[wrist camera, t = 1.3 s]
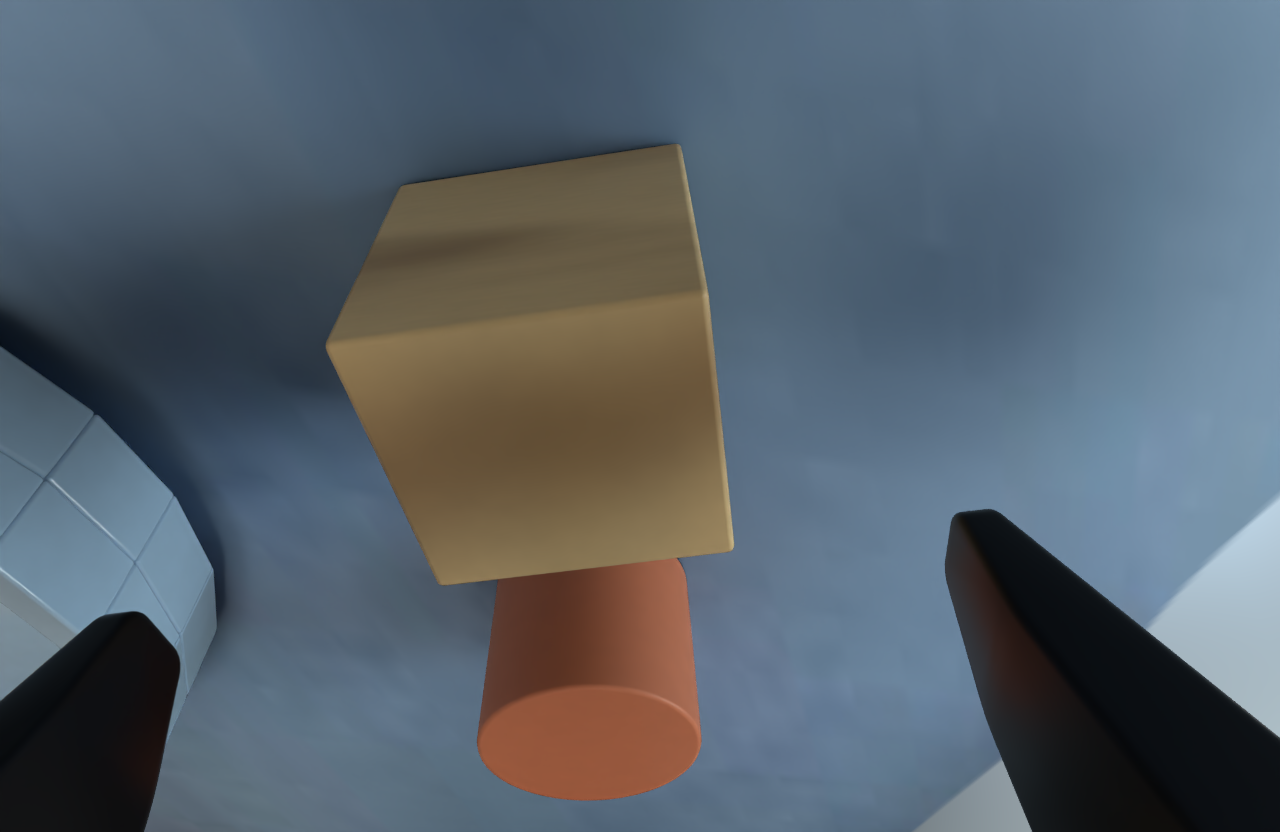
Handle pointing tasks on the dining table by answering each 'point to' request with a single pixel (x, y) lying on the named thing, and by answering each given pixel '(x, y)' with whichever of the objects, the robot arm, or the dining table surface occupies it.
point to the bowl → (88, 535)
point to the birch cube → (542, 368)
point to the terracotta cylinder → (591, 682)
